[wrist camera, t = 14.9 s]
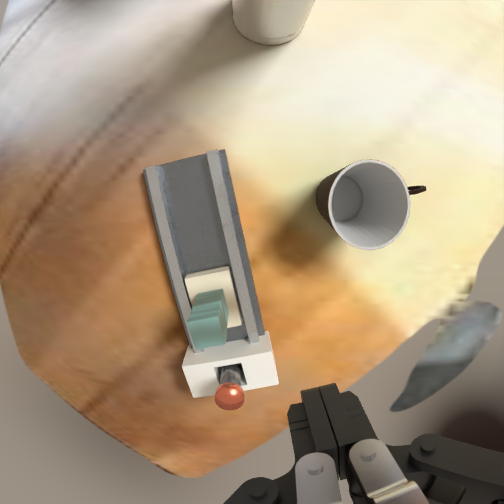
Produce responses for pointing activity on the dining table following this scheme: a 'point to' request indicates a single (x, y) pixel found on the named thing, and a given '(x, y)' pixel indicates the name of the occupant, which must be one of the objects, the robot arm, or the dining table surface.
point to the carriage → (212, 306)
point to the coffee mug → (366, 203)
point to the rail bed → (203, 233)
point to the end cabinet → (240, 351)
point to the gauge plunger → (230, 388)
